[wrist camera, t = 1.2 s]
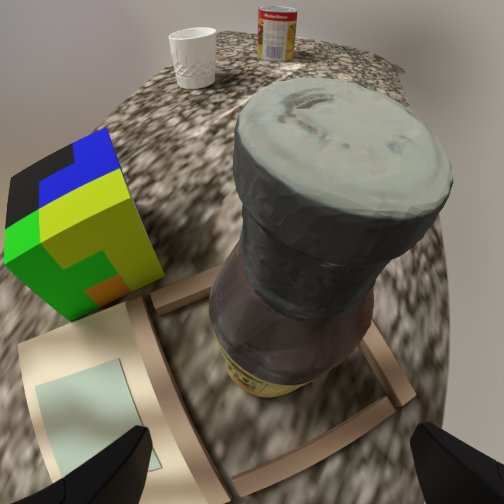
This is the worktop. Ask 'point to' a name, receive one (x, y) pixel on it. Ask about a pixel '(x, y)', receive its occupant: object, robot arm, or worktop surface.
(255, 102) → the sauce bottle
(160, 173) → the worktop surface
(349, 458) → the worktop surface
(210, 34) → the white cup
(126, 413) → the wooden frame
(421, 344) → the worktop surface
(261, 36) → the canned food
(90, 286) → the puzzle toy
